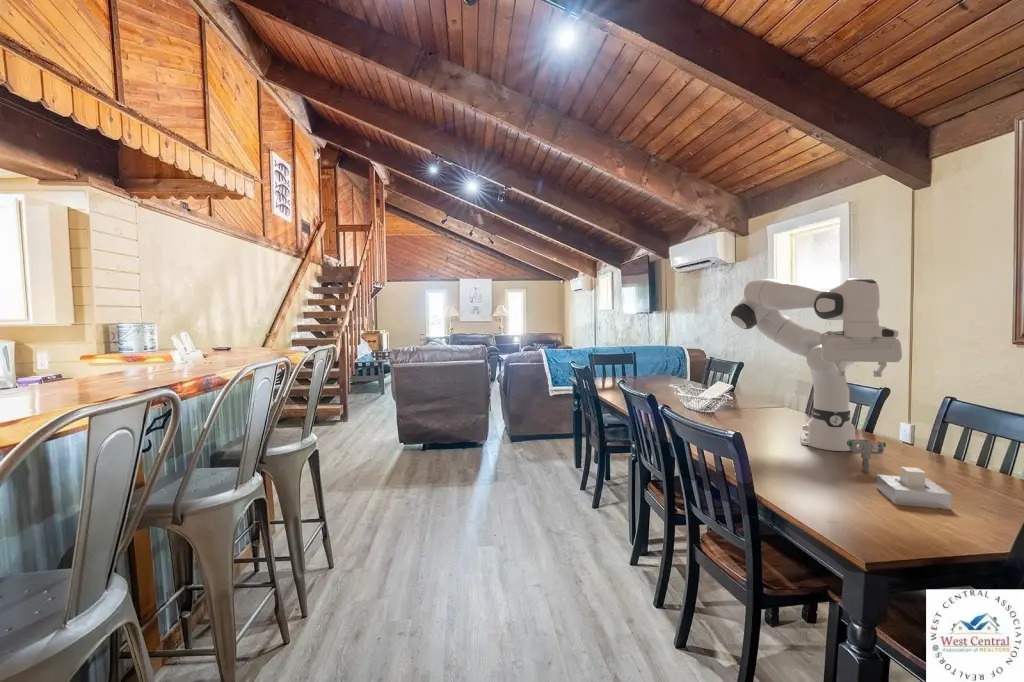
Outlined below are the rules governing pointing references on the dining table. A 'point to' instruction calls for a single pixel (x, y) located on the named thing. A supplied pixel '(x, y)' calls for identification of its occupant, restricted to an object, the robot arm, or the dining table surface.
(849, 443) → the mechanical component
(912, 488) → the grey square socket base
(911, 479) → the plug
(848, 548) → the dining table surface
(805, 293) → the robot arm
